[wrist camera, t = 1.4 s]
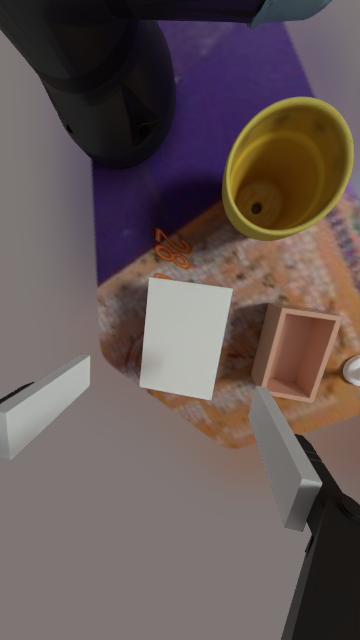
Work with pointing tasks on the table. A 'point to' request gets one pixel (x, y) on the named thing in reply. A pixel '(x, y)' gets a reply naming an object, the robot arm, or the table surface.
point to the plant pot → (287, 168)
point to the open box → (294, 350)
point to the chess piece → (352, 370)
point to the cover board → (183, 336)
